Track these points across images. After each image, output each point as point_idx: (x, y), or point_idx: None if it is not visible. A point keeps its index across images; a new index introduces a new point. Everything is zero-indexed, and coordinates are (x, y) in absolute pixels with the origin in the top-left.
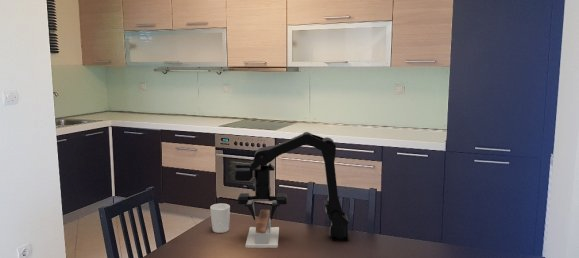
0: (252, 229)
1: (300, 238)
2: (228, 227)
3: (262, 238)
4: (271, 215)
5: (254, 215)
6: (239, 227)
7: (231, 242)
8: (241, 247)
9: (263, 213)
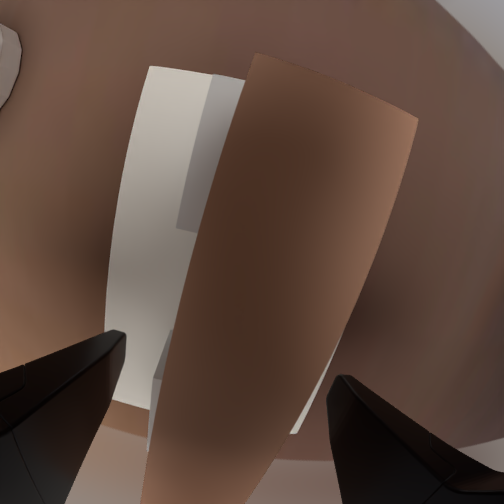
0: (160, 124)
1: (456, 325)
2: (2, 81)
3: None
4: (343, 469)
5: (96, 431)
6: (88, 28)
7: (26, 294)
8: None
9: (264, 291)
